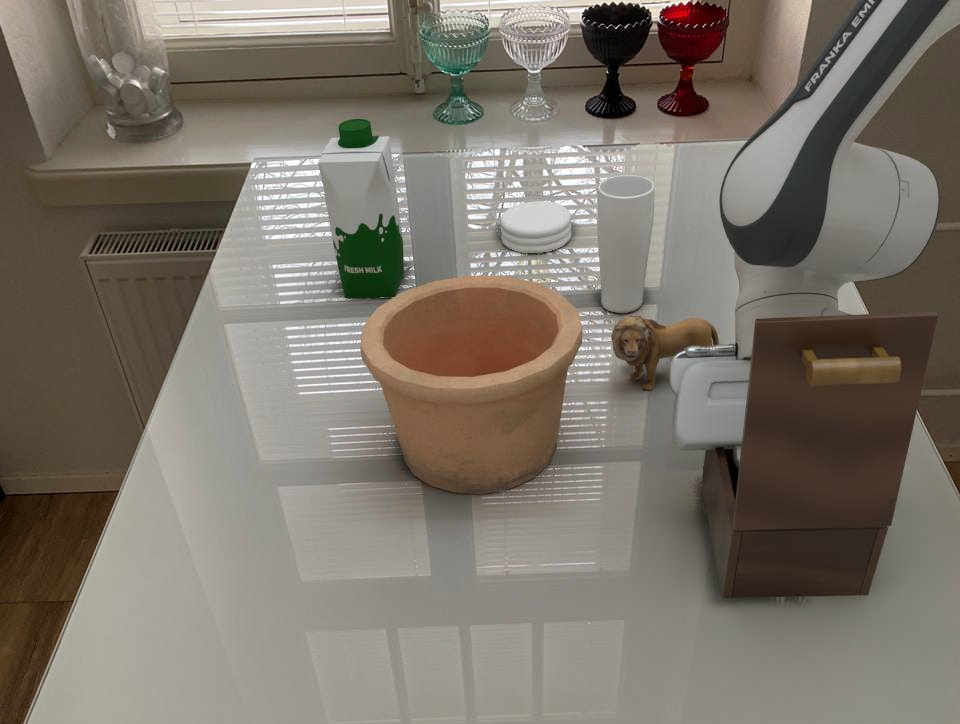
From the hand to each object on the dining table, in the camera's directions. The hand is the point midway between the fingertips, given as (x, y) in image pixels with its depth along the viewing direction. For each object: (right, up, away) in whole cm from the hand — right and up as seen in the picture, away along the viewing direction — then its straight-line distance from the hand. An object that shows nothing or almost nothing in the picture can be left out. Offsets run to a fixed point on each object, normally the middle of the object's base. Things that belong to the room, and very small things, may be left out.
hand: (787, 497), depth 89 cm
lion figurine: (-6, +17, +26) cm, 31 cm away
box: (+1, -4, +5) cm, 6 cm away
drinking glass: (-9, +30, +38) cm, 49 cm away
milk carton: (-42, +35, +46) cm, 72 cm away
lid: (-1, +4, -12) cm, 13 cm away
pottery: (-28, +8, +19) cm, 34 cm away
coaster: (-20, +44, +53) cm, 72 cm away
